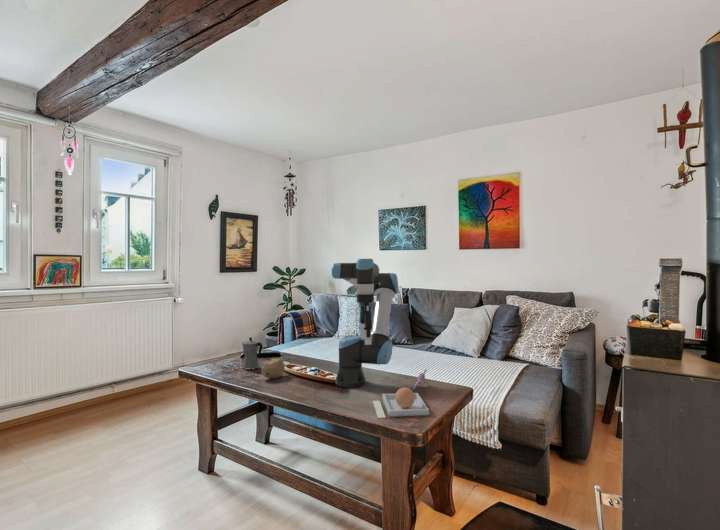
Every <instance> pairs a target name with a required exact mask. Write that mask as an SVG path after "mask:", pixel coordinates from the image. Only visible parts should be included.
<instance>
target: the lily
mask: <svg viewBox="0 0 720 530" xmlns="http://www.w3.org/2000/svg"><path fill="white" fill-rule="evenodd" d="M427 371H428V368H425V369H424V371H423V373H422V372H420V373H418V376H417V381H416V383H415V385H414V386H413V390H412V391H414V390H415V388H416V387H417V386H418V385H419V384H422V383H426V385H427V387H428V388H429V389H431V387H430V386H429V383H427V381H426V377H425V374H426V372H427Z"/></svg>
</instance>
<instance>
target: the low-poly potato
mask: <svg viewBox="0 0 720 530" xmlns="http://www.w3.org/2000/svg"><path fill="white" fill-rule="evenodd" d="M285 365H286V364H285V362H284V361H283V360H282V358H280V357H279V358H278V357H277V358H276V357H275V358H271V359H270V361H269V363H268V364H265V365H262V367H261V370H260V371H261V372H260V373H261V375H262V377H265V378H267V379H271V378H273V379H277V378H276V377H279V378H280V377H282V375H283V374H284V372H285V368H286V366H285Z"/></svg>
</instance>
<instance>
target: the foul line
mask: <svg viewBox="0 0 720 530" xmlns="http://www.w3.org/2000/svg"><path fill="white" fill-rule="evenodd" d="M372 403H373V407H374V410H375V413H376V416H377V419H386V418H387V417H386V414H385V411H384V409H383V406H382V403H381V400H373V401H372Z"/></svg>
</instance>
